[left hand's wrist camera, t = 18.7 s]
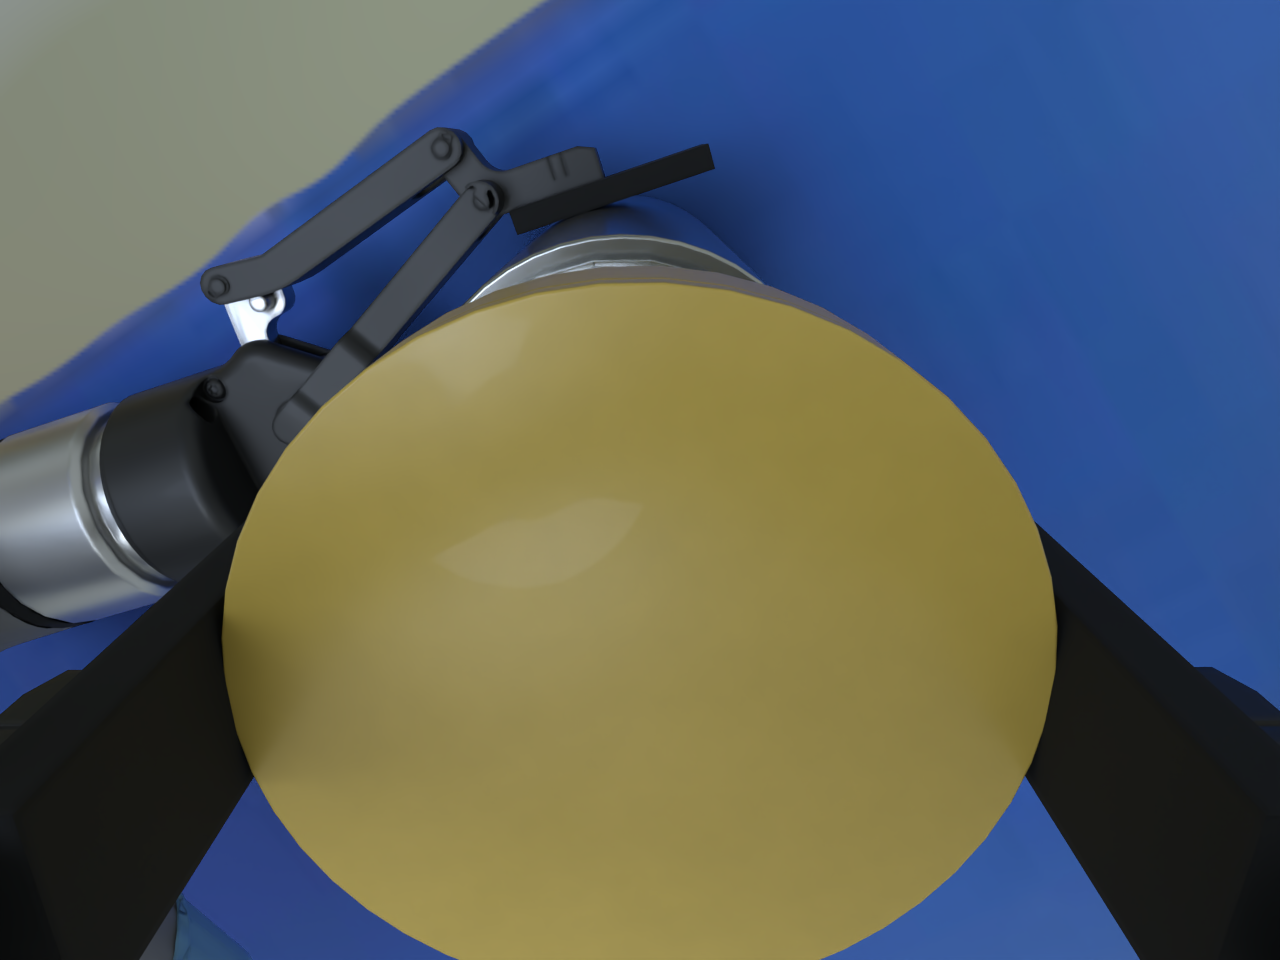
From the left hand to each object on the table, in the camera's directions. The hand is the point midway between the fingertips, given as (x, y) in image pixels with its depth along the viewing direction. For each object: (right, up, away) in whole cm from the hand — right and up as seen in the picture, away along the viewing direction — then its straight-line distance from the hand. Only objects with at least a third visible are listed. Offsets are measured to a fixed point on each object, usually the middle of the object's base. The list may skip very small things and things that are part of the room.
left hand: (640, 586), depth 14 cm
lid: (0, -1, -3) cm, 3 cm away
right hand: (+4, +8, +15) cm, 17 cm away
